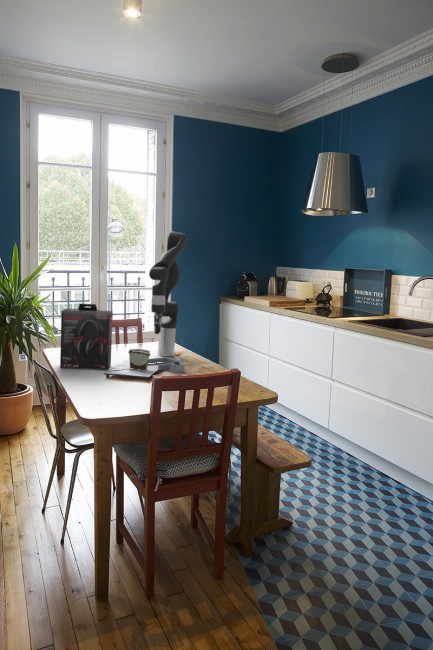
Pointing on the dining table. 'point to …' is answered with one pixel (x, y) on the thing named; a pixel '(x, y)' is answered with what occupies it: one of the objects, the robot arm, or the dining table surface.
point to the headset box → (86, 338)
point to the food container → (139, 358)
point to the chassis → (168, 364)
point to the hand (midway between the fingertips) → (157, 333)
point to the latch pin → (177, 357)
